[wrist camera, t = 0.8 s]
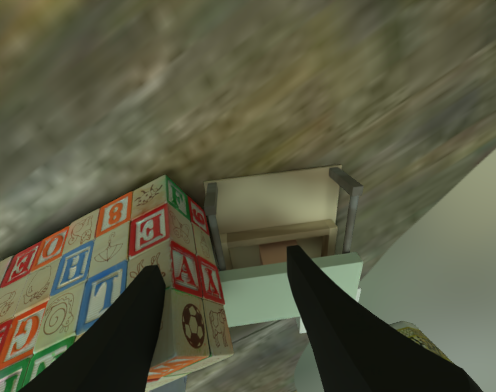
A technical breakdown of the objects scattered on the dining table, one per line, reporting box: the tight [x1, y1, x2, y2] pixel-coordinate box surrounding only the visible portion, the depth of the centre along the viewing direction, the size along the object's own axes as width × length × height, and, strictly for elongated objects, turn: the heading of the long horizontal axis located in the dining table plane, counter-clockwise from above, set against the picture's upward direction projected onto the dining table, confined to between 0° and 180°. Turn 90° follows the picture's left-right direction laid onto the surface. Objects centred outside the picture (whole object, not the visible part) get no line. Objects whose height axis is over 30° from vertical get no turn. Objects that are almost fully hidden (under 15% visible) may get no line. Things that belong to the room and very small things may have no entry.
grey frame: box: [203, 164, 363, 271], centre depth 21 cm, size 13×13×5 cm
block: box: [259, 239, 298, 265], centre depth 23 cm, size 4×4×4 cm
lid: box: [218, 252, 363, 327], centre depth 20 cm, size 6×13×1 cm, turn 96°
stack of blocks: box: [0, 175, 234, 392], centre depth 16 cm, size 21×6×12 cm, turn 116°
